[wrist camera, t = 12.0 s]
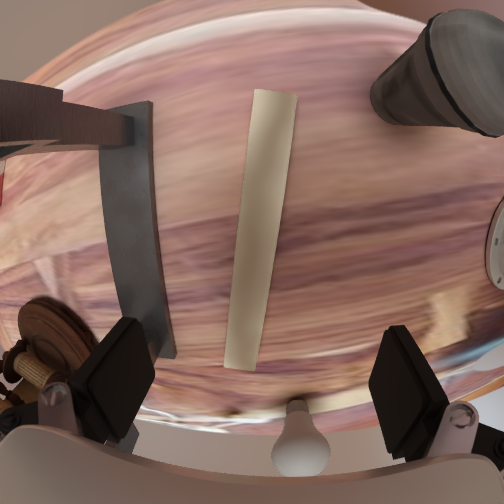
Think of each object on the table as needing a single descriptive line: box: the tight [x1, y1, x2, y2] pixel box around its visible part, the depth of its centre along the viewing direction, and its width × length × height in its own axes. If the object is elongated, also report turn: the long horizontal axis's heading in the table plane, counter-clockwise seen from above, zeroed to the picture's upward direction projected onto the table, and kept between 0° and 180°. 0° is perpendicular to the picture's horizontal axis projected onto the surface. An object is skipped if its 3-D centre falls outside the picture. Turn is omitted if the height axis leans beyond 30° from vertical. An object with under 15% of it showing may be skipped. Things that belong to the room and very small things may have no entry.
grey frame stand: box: [0, 80, 177, 454], centre depth 16 cm, size 5×25×17 cm, turn 0°
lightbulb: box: [271, 400, 331, 477], centre depth 24 cm, size 6×6×11 cm
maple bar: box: [224, 89, 297, 371], centre depth 22 cm, size 3×24×3 cm, turn 173°
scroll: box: [0, 300, 94, 414], centre depth 20 cm, size 15×15×20 cm
